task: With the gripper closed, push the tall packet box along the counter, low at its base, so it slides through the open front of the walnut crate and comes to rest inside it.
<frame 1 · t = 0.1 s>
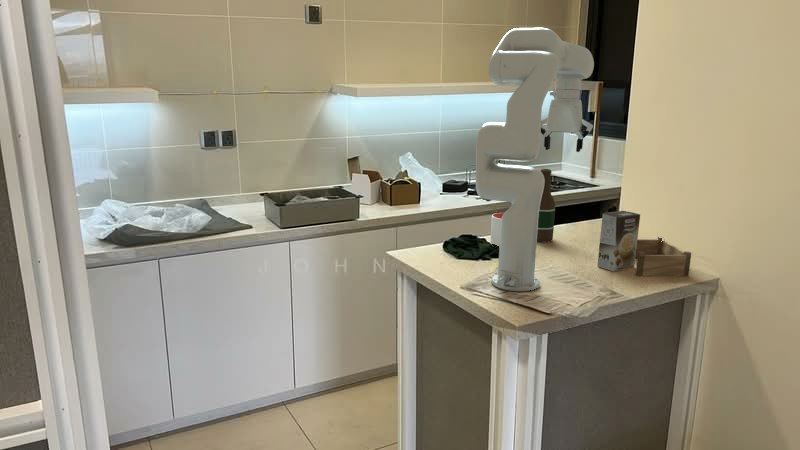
hand: (562, 150, 200), 31 cm above the countertop, tool pointing down, fingers open, 9 cm apart
cup: (505, 246, 205), on the countertop
crate: (649, 266, 185), on the countertop
beer bottle: (541, 240, 214), on the countertop
coffee box: (615, 267, 185), on the countertop
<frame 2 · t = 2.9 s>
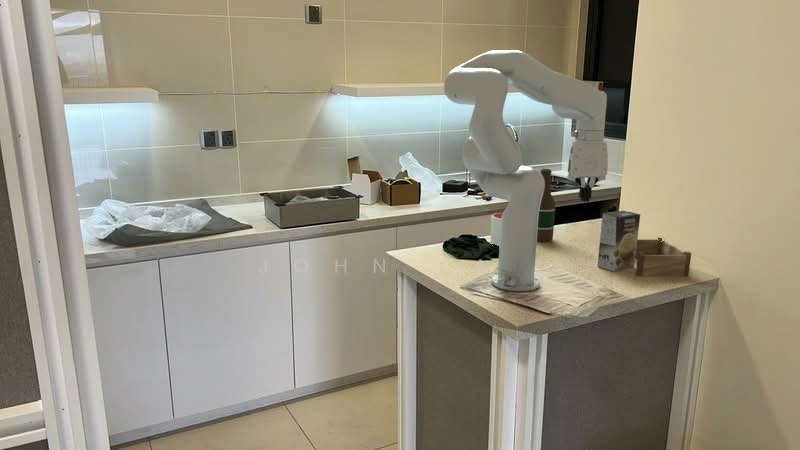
hand: (584, 200, 180), 20 cm above the countertop, tool pointing down, fingers closed
nothing on the countertop moved.
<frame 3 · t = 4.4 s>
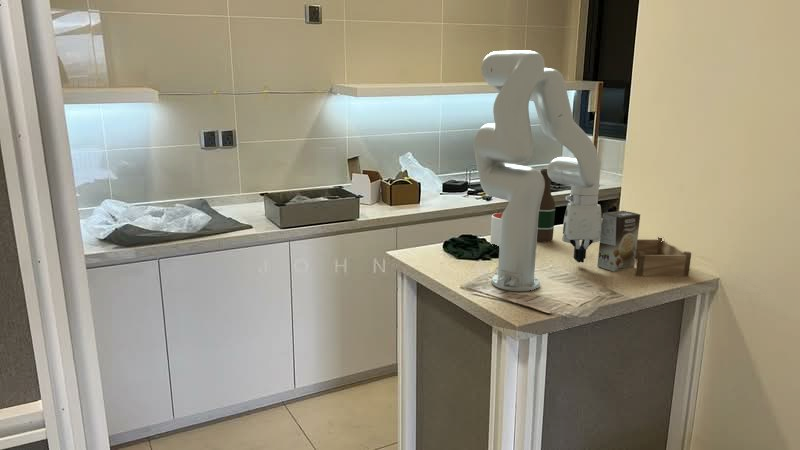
hand: (579, 261, 184), 2 cm above the countertop, tool pointing down, fingers closed
nothing on the countertop moved.
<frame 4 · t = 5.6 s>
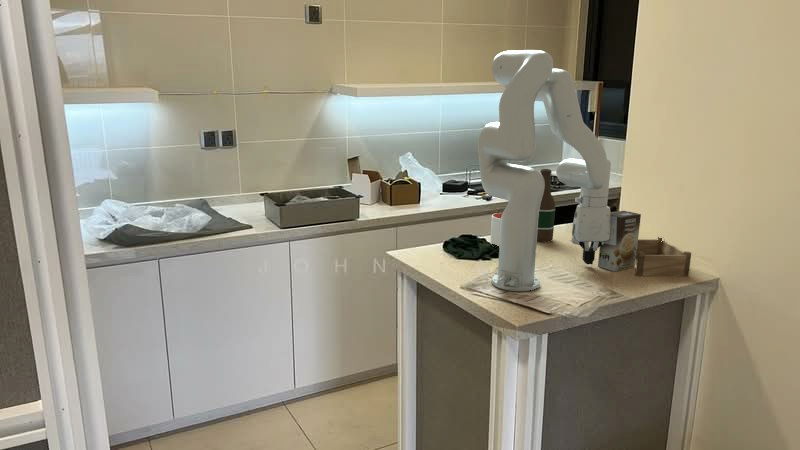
hand: (588, 262, 184), 1 cm above the countertop, tool pointing down, fingers closed
coffee box: (616, 267, 185), on the countertop, touching gripper
everything else where it was.
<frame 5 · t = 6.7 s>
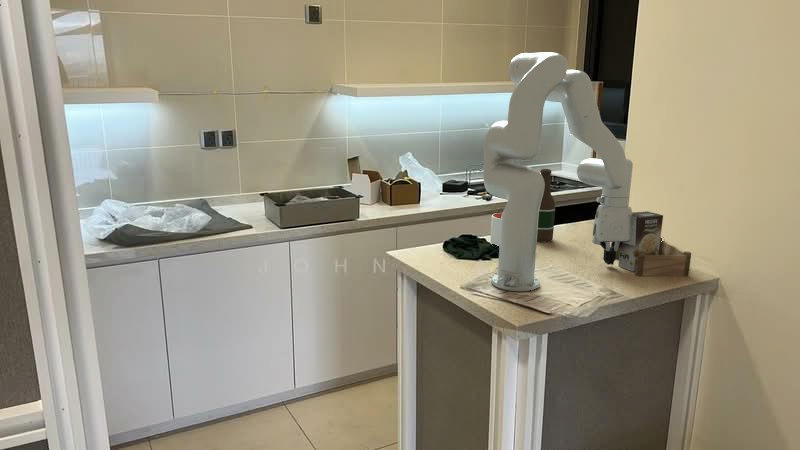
hand: (608, 263, 184), 1 cm above the countertop, tool pointing down, fingers closed
coffee box: (637, 268, 185), on the countertop, touching gripper
everything else where it was.
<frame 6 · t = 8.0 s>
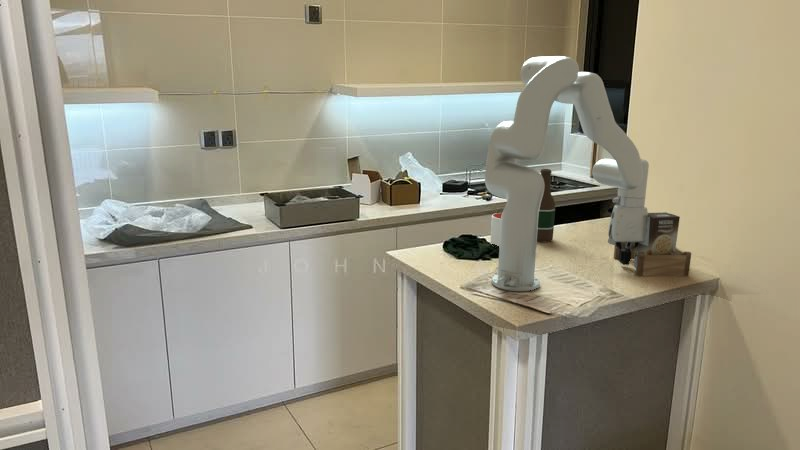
hand: (624, 263, 185), 1 cm above the countertop, tool pointing down, fingers closed
coffee box: (652, 268, 184), on the countertop, touching gripper
everything else where it was.
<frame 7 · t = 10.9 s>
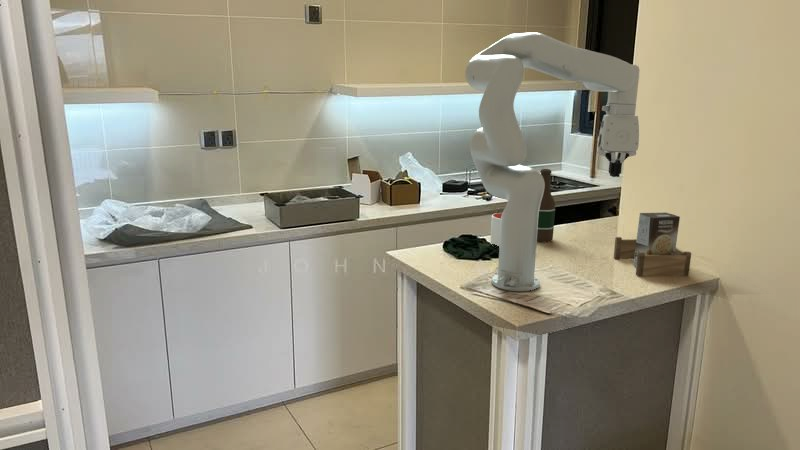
hand: (614, 176, 178), 27 cm above the countertop, tool pointing down, fingers closed
coffee box: (653, 268, 184), on the countertop
everything else where it was.
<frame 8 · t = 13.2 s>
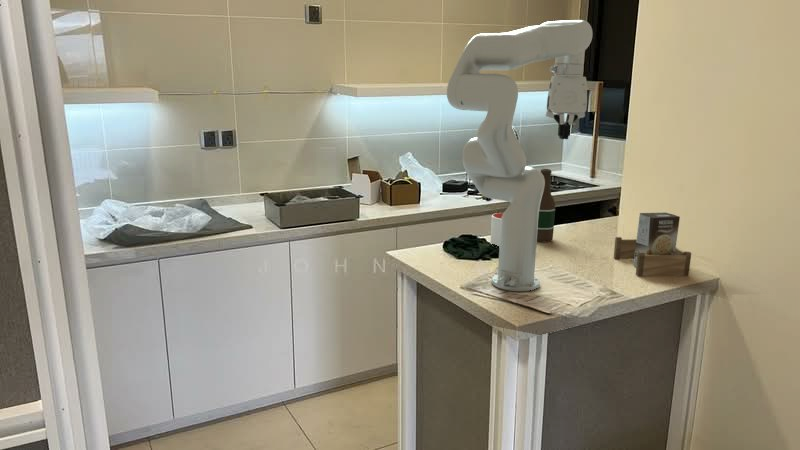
hand: (563, 138, 176), 37 cm above the countertop, tool pointing down, fingers closed
nothing on the countertop moved.
at the end: coffee box inside the target area on the crate (1.4 cm from its centre), point 0.0 cm above the crate's base; coffee box tilted 0°; coffee box moved 10.7 cm from its start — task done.
